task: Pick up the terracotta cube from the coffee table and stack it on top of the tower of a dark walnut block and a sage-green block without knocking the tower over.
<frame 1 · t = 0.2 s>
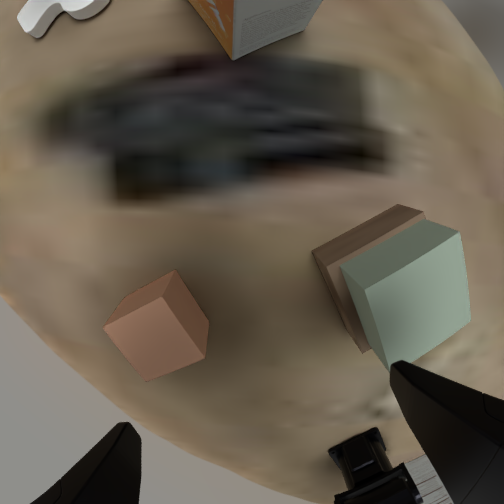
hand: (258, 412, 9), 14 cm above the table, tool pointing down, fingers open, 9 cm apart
walnut base block: (371, 268, 23), on the table, touching sage top block
terracotta cube: (166, 309, 23), on the table
small box: (241, 9, 17), on the table
sage top block: (397, 284, 19), point 4 cm above the table, touching walnut base block
supplement box: (404, 470, 34), on the table
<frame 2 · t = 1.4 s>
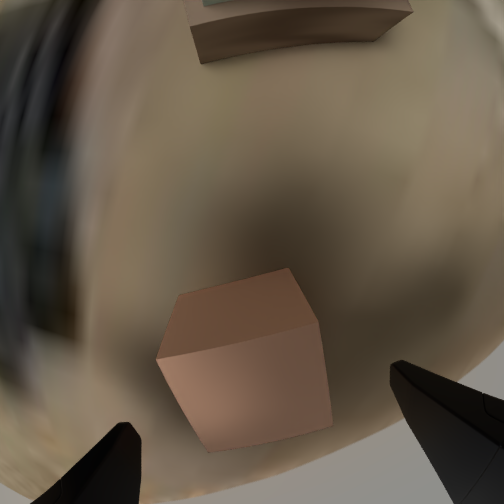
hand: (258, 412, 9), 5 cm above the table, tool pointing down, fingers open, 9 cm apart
terracotta cube: (246, 328, 14), on the table
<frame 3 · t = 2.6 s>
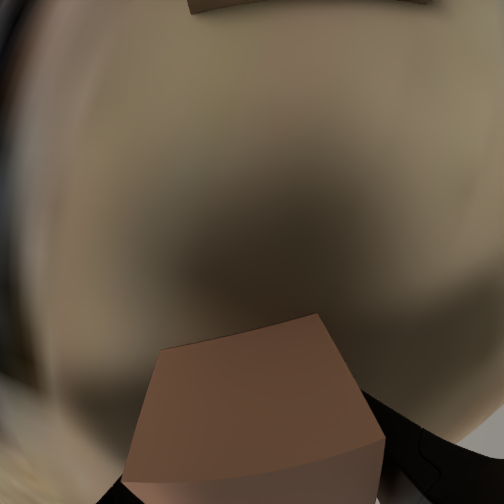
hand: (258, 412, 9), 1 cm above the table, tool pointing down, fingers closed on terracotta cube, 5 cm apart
terracotta cube: (256, 391, 10), on the table, touching gripper
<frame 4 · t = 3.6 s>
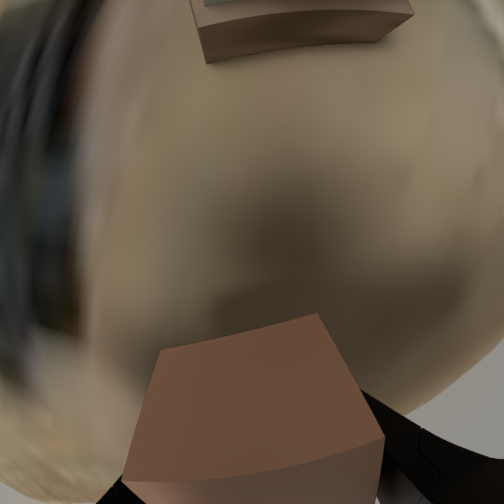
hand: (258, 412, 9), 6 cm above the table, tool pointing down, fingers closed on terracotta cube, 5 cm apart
terracotta cube: (256, 391, 10), point 5 cm above the table, touching gripper
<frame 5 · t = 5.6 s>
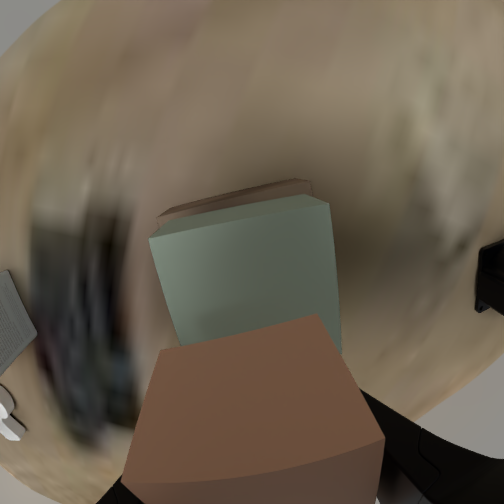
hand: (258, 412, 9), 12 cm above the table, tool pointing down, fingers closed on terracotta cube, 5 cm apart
walnut base block: (246, 251, 20), on the table, touching sage top block
terracotta cube: (256, 392, 10), point 11 cm above the table, touching gripper
small box: (0, 310, 20), on the table
sage top block: (249, 271, 16), point 4 cm above the table, touching walnut base block
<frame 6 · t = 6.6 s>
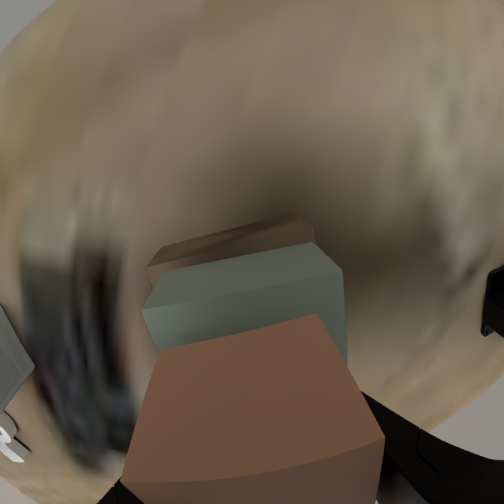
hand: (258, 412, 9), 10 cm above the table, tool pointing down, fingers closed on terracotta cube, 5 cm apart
walnut base block: (244, 291, 18), on the table, touching sage top block
terracotta cube: (255, 391, 10), point 9 cm above the table, touching gripper
sage top block: (251, 323, 15), point 4 cm above the table, touching walnut base block
when the fingers open (10 cm above the table, at t = 6.7 s): terracotta cube drops 1 cm, resting on sage top block.
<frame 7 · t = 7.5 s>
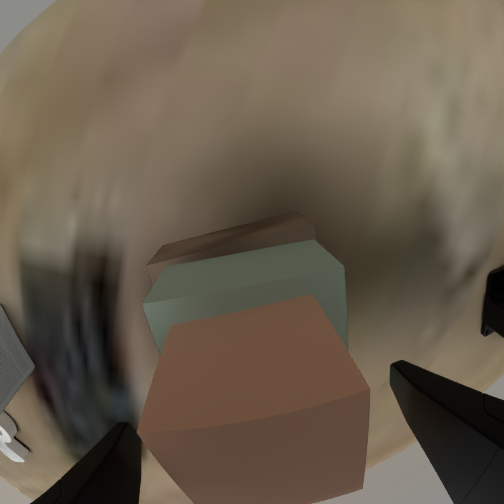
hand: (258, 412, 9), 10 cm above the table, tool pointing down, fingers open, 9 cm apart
walnut base block: (245, 290, 19), on the table
joystick: (0, 418, 21), on the table
terracotta cube: (256, 367, 11), point 8 cm above the table, touching sage top block
sage top block: (252, 320, 15), point 4 cm above the table, touching terracotta cube
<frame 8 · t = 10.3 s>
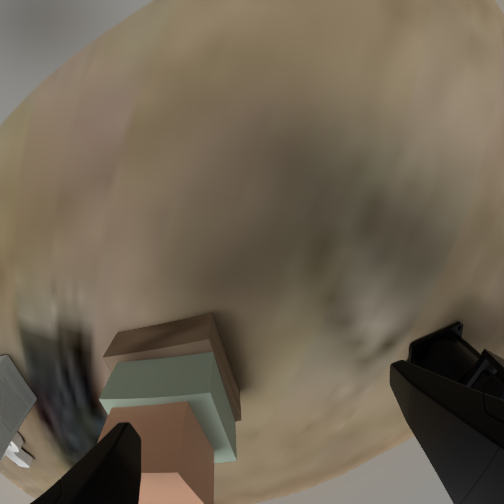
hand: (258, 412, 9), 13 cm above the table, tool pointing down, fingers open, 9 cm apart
walnut base block: (180, 362, 23), on the table, touching sage top block
joystick: (9, 432, 26), on the table
terracotta cube: (163, 432, 16), point 8 cm above the table, touching sage top block
small box: (6, 378, 23), on the table
sage top block: (177, 395, 19), point 4 cm above the table, touching terracotta cube, walnut base block
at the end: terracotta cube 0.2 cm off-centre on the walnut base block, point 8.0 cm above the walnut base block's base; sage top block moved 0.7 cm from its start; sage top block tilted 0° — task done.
